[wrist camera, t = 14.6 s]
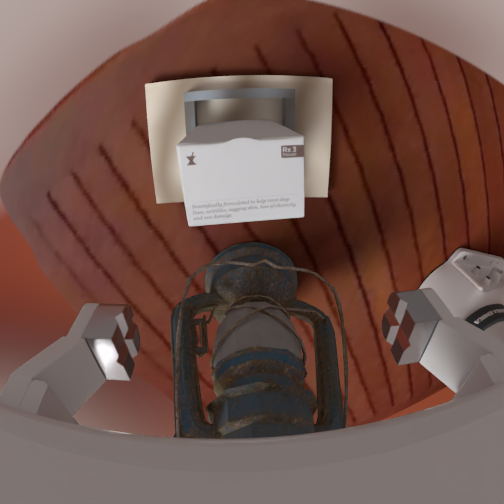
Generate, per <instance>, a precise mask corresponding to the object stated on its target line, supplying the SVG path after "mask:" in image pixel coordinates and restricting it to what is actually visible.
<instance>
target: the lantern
mask: <svg viewBox="0 0 504 504" xmlns="http://www.w3.org/2000/svg"><path fill="white" fill-rule="evenodd" d="M207 268H208V269H207ZM205 269H207V272H206V275H205V288H206V293H202V294H198V295H195V296H192V297H190V298H187V299H185V298H186V295H187V292H188V289H189V285H190V282H191V280H192V279H193V278H194V276H195V275H196V274H197V273H199V272H201V271H203V270H205ZM296 270H297V271H302V272H306V273H309V274H313V275H315V276H317V277H318V278H319V279H321V280H322V281H324V282H325V283H326V284H328V286H329V287H330V289H331V290H332V292H333V293H334V296H335V299H336V303H337V307H338V311H339V315H340V319H341V329H342V343H343V358H344V378H345V401H344V410H343V403H342V395H341V388H340V381H339V369H338V359H337V349H336V340H335V332H334V329H333V326H332V324H331V321H330V317H328V316H326V315H325V314H324V313H323V312H322V311H320V310H319V309H317V308H316V307H314V306H312V305H309V304H307V303H305V302H303V301H300V300H297V299H296V290H297V285H298V281H297V272H296ZM206 311H211V315H210V317H209V319H208V321H206V316H205V315H204V316H203V319H194V320H193V318H194V316H195V315H196V314H199V313H202V312H206ZM212 315H213V316H214V317H215V318H216V320H217V321H218V322H219V323H221V324H220V325H219V327H218V330H217V334H216V339H215V343H214V348H213V354H212V357H211V361H210V365H211V368H212V370H213V372H212V374H211V377H212V379H213V382H214V392H215V394H216V396H217V398H216V399H215V400H213V401H212V402H211V403H210V404H209V405H207V407H206V411H207V415H208V419H209V422H211V423H212V424H209V423H208V422H207V421H206V420H205V416H204V411H203V407H202V400H201V393H200V385H199V377H198V369H197V360H196V355H197V356H199V357H202V356H204V354H205V353H208V337H207V324H206V323H210V320H211V318H212ZM290 316H293V317H296V318H299V319H302V320H304V321H306V322H308V323H309V324H311V325H312V328H313V330H314V346H315V363H316V383H317V401H316V399H315V397H314V395H313V394H312V392H311V391H309V390H307V389H305V388H304V379H305V377H306V375H307V372H306V369H305V362H306V353H305V347H304V344H303V342H302V339H301V338H300V337H299V336H298V335H297V333H296V330H295V328H294V326H293V323H292V322H291V321H290ZM195 325H199V328H200V344H201V347H198V346H197V344H198V338H197V332H196V326H195ZM202 325H203V327H202ZM170 330H171V349H172V364H173V380H174V412H175V431H176V432H175V435H174V437H176V438H197V439H242V438H264V437H278V436H290V435H299V434H308V433H316V432H323V431H330V430H337V429H343V428H347V409H348V359H347V349H346V339H345V330H344V321H343V313H342V307H341V304H340V301H339V297H338V294H337V292H336V291H335V289H334V287H333V286H332V285H331V284H330V283H329V282H328V281H327V280H325V279H324V278H323V277H322V276H320V275H319V274H318V273H315V272H313V271H310V270H308V269H303V268H297V267H295V266H294V264H293V262H292V260H291V259H290V258H289V257H288V256H287V255H286V254H285V253H284V252H282V251H281V250H280V249H279V248H276V247H274V246H271V245H268V244H265V243H260V242H248V243H241V244H235V245H233V246H231V247H229V248H227V249H226V250H224V251H222V252H220V253H219V254H218V255H217V256H216V257H215V258H214V259H213V260H212V262H211V263H209V264H206V265H203V266H202V267H200V268H199V269H198V270H197V271H196V272H195V273H194V274H192V275H191V276H190V277H189V278H188V280H187V283H186V287H185V290H184V293H183V297H182V301H181V302H180V303H178V304H177V305H176V307H175V308H174V309H173V312H172V316H171V327H170ZM203 337H204V342H205V346H204V342H203ZM300 345H301V347H300ZM301 349H302V352H303V360H302V355H301ZM198 353H199V354H198ZM213 363H214V366H213ZM316 409H318V418H317V423H316V424H314V421H313V415H314V413H315V411H316Z"/></svg>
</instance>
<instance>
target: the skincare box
mask: <svg viewBox="0 0 504 504" xmlns="http://www.w3.org/2000/svg"><path fill="white" fill-rule="evenodd" d="M176 150H177V157H178V165H179V172H180V179H181V185H182V191H183V197H184V203H185V209H186V214H187V220H188V225H189V226H201V225H212V224H224V223H238V222H250V221H262V220H275V219H287V218H300V217H304V183H305V137H304V136H303V135H301V134H299V133H297V132H295V131H293V130H291V129H289V128H286V127H284V126H282V125H280V124H278V123H276V122H274V121H272V120H267V119H256V120H238V121H228V122H219V123H213V124H201V125H198V126H197V127H196V128H195V129H194V130H192V131H191V132H190V133H189V134H188V135H187V136H186V137H185V138H184V139H183V140H182V141H180V142H179V143H178V144H177V145H176Z"/></svg>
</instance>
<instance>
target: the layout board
mask: <svg viewBox="0 0 504 504" xmlns="http://www.w3.org/2000/svg"><path fill="white" fill-rule="evenodd" d="M332 85H333V78H322V77H307V76H284V75H240V76H217V77H202V78H191V79H181V80H172V81H164V82H156V83H149V84H145V90H146V106H147V119H148V131H149V142H150V151H151V161H152V170H153V178H154V186H155V193H156V201H157V203H171V202H184V197H183V191H182V185H181V179H180V172H179V165H178V157H177V150H176V145H177V144H178V143H179V142H180V141H182V140H183V139H184V138H185V137H186V136H187V135H188V134H189V133H190V132H191V131H192V130H194V129H195V128H196V127H197V126H198V125H201V124H213V123H219V122H228V121H238V120H256V119H267V120H272V121H274V122H276V123H278V124H280V125H282V126H284V127H286V128H289V129H291V130H293V131H295V132H297V133H299V134H301V135H303V136H304V137H305V183H304V197H327V196H328V183H329V167H330V149H331V126H332Z"/></svg>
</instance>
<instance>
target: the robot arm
mask: <svg viewBox="0 0 504 504" xmlns="http://www.w3.org/2000/svg"><path fill="white" fill-rule="evenodd" d="M387 303H388V305H389V307H390V308H389V309H388V310H387V311H386V312H385V313H384V316H383V319H382V331H383V335H384V337H385V339H386V341H387V342H389V343H390V344H392V348H391V352H392V354H393V356H394V358H395V360H396V363H397V365H402V364H408V363H413V362H419V361H420V362H419V363H420V364H422V365H423V366H424V367H425V368H426V369H428V370H429V371H430V372H431V373H432V374H434V375H435V376H436V377H437V378H438V379H440V380H441V381H442V382H443V383H444V384H446V385H447V386H448V387H449V388H450V389H452V390H453V391H454V392H455V393H456V394H455V396H454V397H453V399H452V400H451V401H450V402H447V403H444V404H441V405H438V406H435V407H431V408H429V409H425V410H421V411H418V412H414V413H411V414H407V415H404V416H399V417H396V418H392V419H387V420H383V421H378V422H374V423H369V424H364V425H359V426H354V427H348V428H343V429H337V430H330V431H323V432H316V433H308V434H299V435H290V436H278V437H264V438H242V439H197V438H176V437H161V436H150V435H141V434H131V433H124V432H117V431H111V430H104V429H98V428H93V427H88V426H82V425H79V424H78V422H77V421H76V420H75V419H74V418H73V415H74V414H75V413H76V412H77V411H78V410H79V409H80V408H81V406H82V405H83V404H84V403H85V402H86V401H87V400H88V399H89V398H90V397H91V396H92V395H93V394H94V393H95V392H96V391H97V390H98V388H99V387H100V386H101V385H102V384H103V383H104V382H105V381H106V379H112V380H130V379H131V375H132V372H133V368H134V365H135V364H134V362H133V359H132V358H133V357H134V356H136V355H137V354H138V351H139V347H140V335H139V330H138V327H137V325H136V324H135V323H134V322H133V321H131V320H132V317H133V312H132V309H131V307H130V306H129V305H127V304H101V303H100V304H96V303H87V304H85V305H84V306H83V307H82V309H81V311H80V313H79V315H78V316H77V318H76V320H75V322H74V324H73V326H72V327H71V329H70V331H69V333H68V335H67V337H62V338H60V339H59V340H57V341H56V342H55V343H53V344H52V345H50V346H49V347H47V348H46V349H45V350H43V351H42V352H40V353H39V354H38V355H36V356H35V357H33V358H32V359H31V360H29V361H28V362H26V363H25V364H24V365H22V366H21V367H20V368H18V369H17V370H15V371H14V372H13V373H12V374H11V376H10V378H9V380H8V382H7V383H6V386H5V388H4V390H3V392H2V394H1V396H0V504H504V259H503V258H502V257H499V256H495V255H491V254H486V253H482V252H478V251H474V250H469V249H465V248H459V249H457V250H456V251H455V252H454V253H453V254H452V256H451V257H450V258H449V259H448V261H447V262H445V263H444V264H443V265H441V266H440V267H439V268H437V269H436V270H435V271H433V272H432V273H431V274H430V275H429V276H428V277H427V278H426V280H425V281H424V282H423V283H422V285H421V286H420V288H419V289H417V290H410V291H401V292H392V293H391V294H390V296H389V299H388V302H387Z"/></svg>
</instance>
